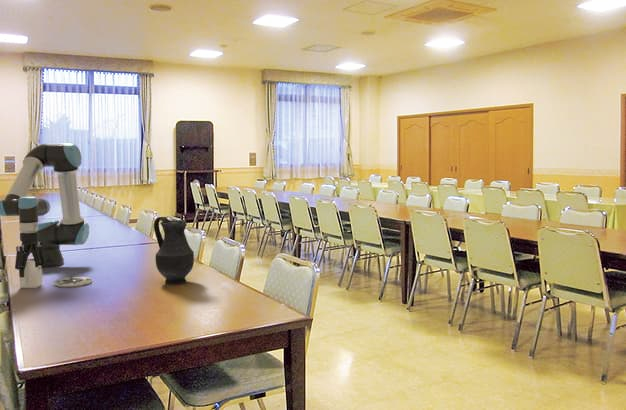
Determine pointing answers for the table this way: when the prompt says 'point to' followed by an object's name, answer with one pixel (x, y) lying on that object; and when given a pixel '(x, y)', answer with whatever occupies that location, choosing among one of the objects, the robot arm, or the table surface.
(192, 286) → the table surface
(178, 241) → the pitcher
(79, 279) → the flange
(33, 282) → the medicine bottle
